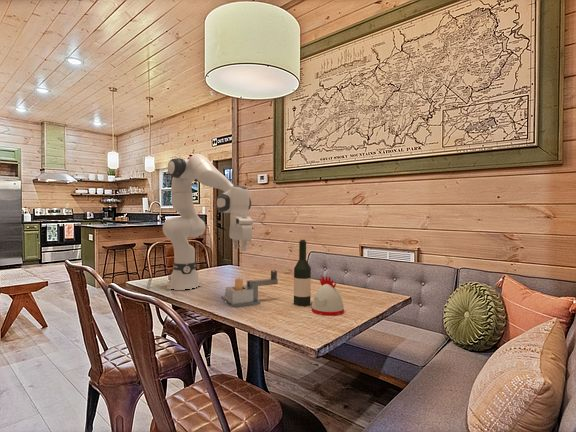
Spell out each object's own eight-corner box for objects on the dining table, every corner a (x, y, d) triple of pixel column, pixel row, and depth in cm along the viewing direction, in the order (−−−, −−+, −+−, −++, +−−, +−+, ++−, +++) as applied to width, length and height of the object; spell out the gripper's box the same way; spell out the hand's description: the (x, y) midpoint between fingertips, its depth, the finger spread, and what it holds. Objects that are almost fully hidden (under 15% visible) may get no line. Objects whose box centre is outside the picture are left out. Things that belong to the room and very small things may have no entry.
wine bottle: (290, 304, 159) (290, 240, 159) (298, 300, 166) (298, 238, 166) (306, 307, 155) (307, 240, 155) (313, 302, 162) (314, 239, 162)
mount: (221, 298, 169) (221, 279, 169) (245, 295, 175) (245, 277, 175) (233, 307, 153) (233, 286, 153) (260, 304, 159) (260, 283, 159)
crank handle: (249, 285, 164) (249, 272, 164) (275, 283, 171) (275, 270, 171) (251, 286, 162) (251, 273, 162) (277, 284, 168) (278, 271, 168)
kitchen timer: (323, 305, 159) (323, 272, 159) (349, 310, 150) (350, 276, 150) (305, 311, 148) (305, 277, 148) (332, 318, 140) (333, 281, 139)
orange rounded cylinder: (241, 299, 163) (241, 278, 163) (243, 300, 160) (244, 279, 160) (233, 300, 161) (234, 278, 161) (236, 301, 158) (236, 280, 158)
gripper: (226, 219, 168) (226, 247, 168) (241, 220, 150) (240, 252, 150) (238, 219, 171) (238, 247, 171) (254, 220, 153) (254, 251, 153)
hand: (239, 249), depth 160 cm, fingers open, 8 cm apart
